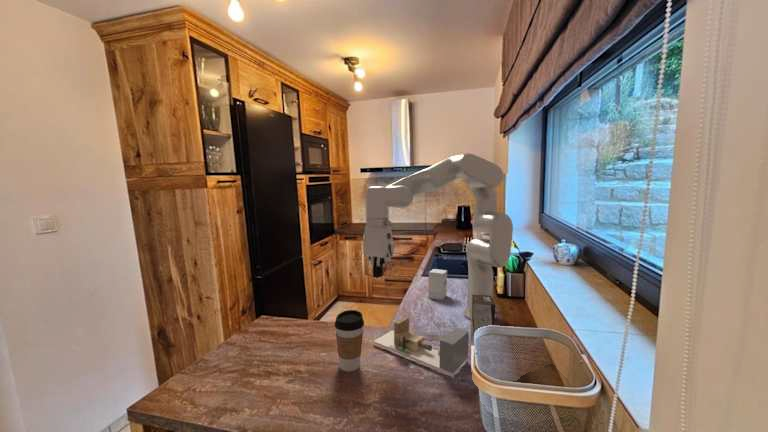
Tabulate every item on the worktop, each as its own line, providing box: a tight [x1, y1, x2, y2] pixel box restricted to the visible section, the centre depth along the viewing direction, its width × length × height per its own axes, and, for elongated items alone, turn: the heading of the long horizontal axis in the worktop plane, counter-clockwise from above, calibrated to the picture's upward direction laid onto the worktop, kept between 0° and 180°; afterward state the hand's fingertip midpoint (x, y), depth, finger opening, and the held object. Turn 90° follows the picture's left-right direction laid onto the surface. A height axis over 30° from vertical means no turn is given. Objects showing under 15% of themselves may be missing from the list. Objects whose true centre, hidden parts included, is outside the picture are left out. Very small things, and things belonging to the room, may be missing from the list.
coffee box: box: [470, 295, 496, 343], centre depth 97 cm, size 9×6×16 cm
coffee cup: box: [334, 309, 365, 372], centre depth 87 cm, size 8×8×15 cm
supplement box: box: [427, 268, 448, 301], centre depth 144 cm, size 7×7×13 cm
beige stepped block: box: [393, 316, 433, 352], centre depth 94 cm, size 12×7×7 cm, turn 51°
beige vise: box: [373, 327, 470, 376], centre depth 94 cm, size 28×10×10 cm, turn 51°
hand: (377, 276), depth 104 cm, fingers closed
